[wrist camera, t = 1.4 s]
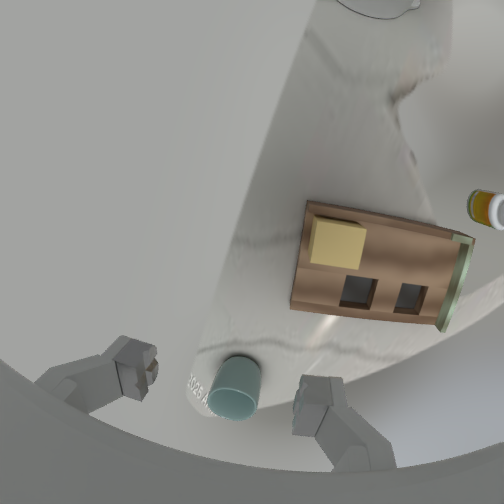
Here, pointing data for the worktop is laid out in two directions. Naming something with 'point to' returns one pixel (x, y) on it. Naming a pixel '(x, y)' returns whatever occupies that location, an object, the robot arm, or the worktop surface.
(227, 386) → the cup
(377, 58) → the worktop surface
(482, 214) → the supplement bottle
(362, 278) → the box
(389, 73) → the worktop surface
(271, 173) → the worktop surface
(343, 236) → the block
